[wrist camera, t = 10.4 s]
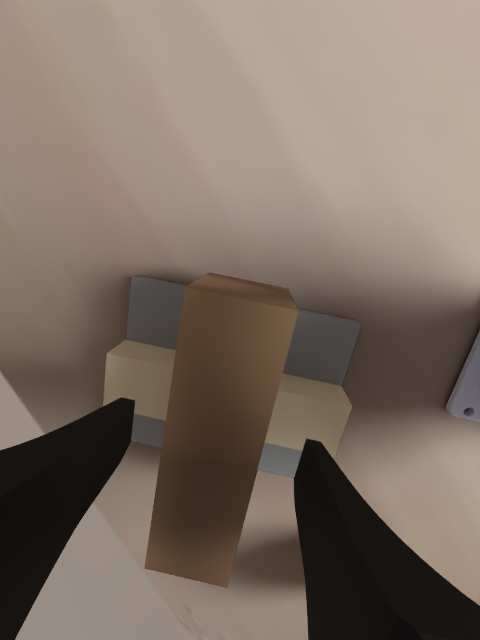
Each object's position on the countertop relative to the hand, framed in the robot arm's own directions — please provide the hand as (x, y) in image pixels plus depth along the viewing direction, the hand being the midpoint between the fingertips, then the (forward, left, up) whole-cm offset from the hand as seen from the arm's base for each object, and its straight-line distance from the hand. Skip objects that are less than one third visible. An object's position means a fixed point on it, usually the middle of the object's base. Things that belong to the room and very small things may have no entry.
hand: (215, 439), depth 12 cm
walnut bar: (0, 0, -3) cm, 3 cm away
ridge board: (0, 0, -5) cm, 5 cm away
